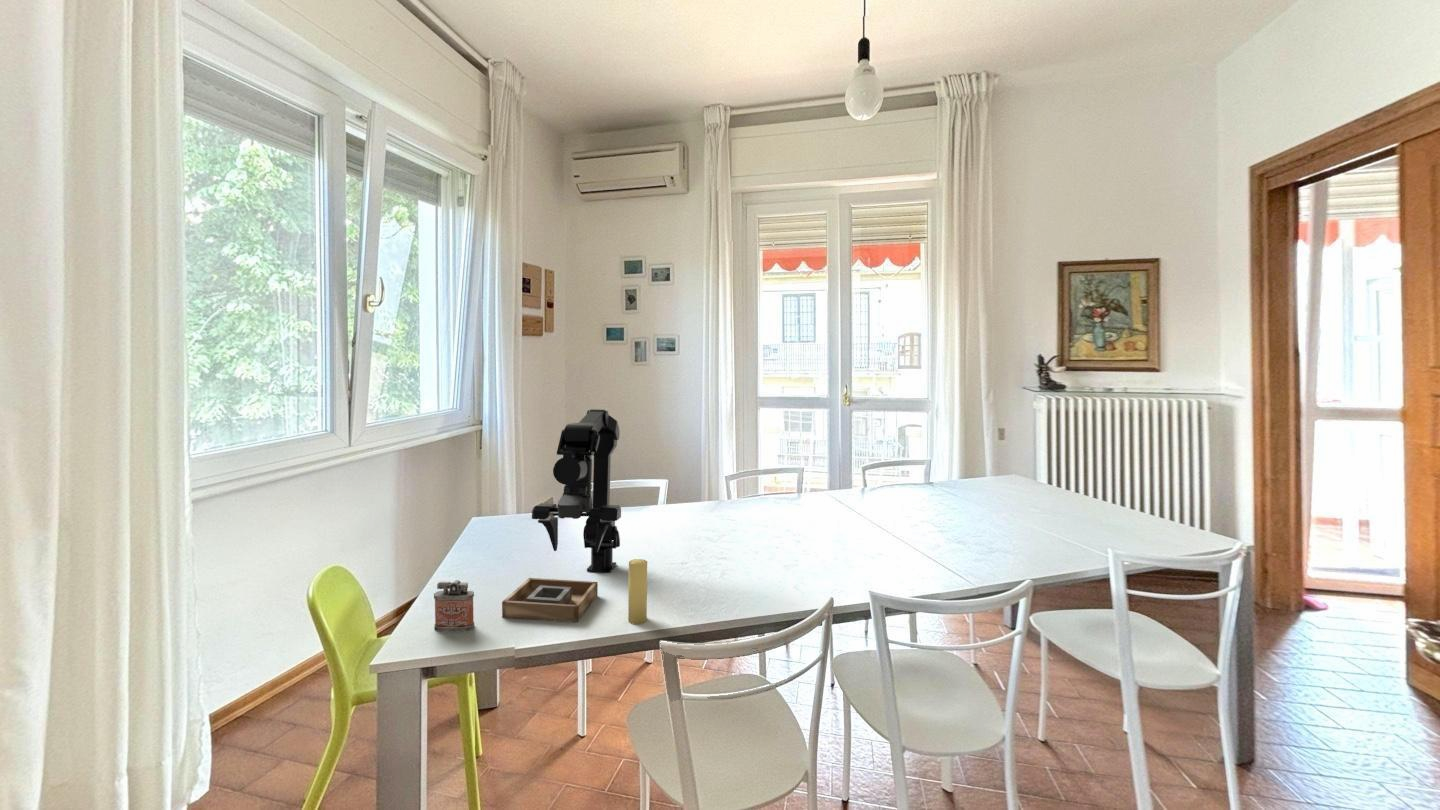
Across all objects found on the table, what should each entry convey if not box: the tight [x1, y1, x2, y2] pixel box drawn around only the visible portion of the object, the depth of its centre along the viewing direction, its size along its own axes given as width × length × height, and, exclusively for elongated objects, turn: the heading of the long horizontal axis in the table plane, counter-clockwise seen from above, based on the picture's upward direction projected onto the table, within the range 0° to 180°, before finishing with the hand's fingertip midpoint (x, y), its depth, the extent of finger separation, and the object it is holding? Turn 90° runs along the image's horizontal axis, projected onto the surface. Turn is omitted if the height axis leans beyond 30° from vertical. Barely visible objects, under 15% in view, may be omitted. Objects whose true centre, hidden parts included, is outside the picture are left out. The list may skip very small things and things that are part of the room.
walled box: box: [501, 577, 599, 623], centre depth 133 cm, size 14×17×4 cm
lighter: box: [433, 579, 475, 632], centre depth 121 cm, size 8×3×10 cm, turn 92°
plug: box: [627, 558, 648, 625], centre depth 127 cm, size 4×4×13 cm
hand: (576, 551), depth 129 cm, fingers open, 9 cm apart
